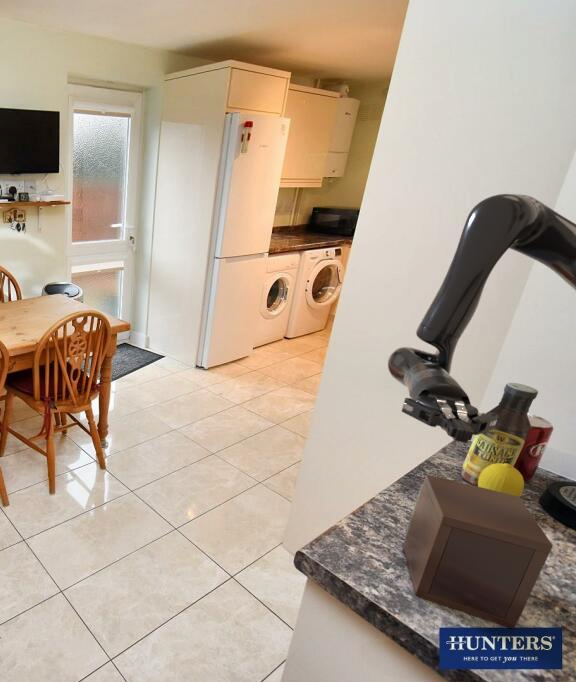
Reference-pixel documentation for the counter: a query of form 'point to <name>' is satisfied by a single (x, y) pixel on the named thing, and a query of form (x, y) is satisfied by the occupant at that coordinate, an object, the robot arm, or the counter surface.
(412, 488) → the counter surface
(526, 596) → the box
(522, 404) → the sauce bottle
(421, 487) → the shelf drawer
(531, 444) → the soda can
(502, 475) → the lemon
